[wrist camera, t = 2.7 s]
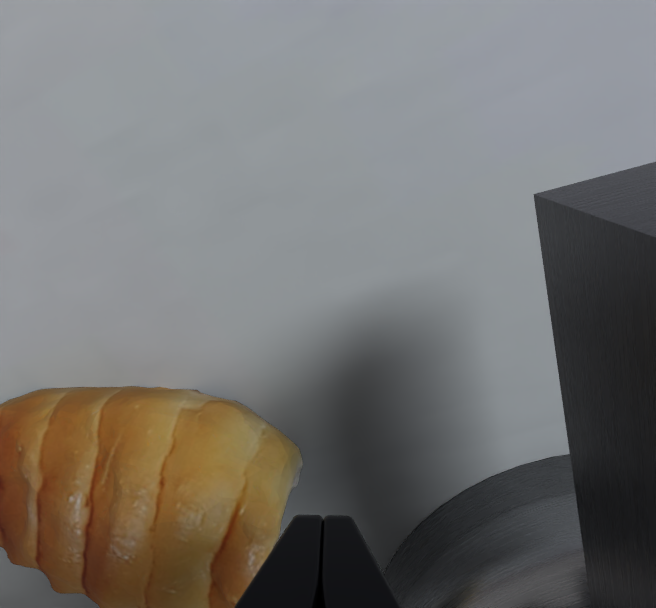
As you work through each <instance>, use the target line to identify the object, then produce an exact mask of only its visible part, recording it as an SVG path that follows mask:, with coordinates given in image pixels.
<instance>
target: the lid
mask: <svg viewBox="0 0 656 608" xmlns="http://www.w3.org/2000/svg"><path fill="white" fill-rule="evenodd" d="M534 201H535V208H536V215H537V222H538V229H539V236H540V243H541V251H542V258H543V265H544V272H545V279H546V286H547V294H548V301H549V308H550V315H551V322H552V329H553V336H554V344H555V351H556V358H557V365H558V372H559V379H560V387H561V394H562V401H563V408H564V415H565V422H566V430H567V437H568V444H569V451H570V458H571V465H572V472H573V480H574V487H575V494H576V501H577V508H578V515H579V523H580V530H581V537H582V544H583V551H584V558H585V565H586V573H587V580H588V587H589V594H590V601H591V608H656V162H653V163H650V164H646V165H642V166H638V167H635V168H631V169H627V170H623V171H620V172H616V173H612V174H608V175H605V176H601V177H597V178H593V179H589V180H586V181H582V182H578V183H574V184H571V185H567V186H563V187H559V188H556V189H552V190H548V191H544V192H541V193H537V194H534Z"/></svg>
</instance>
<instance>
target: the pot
mask: <svg viewBox="0 0 656 608" xmlns="http://www.w3.org/2000/svg"><path fill="white" fill-rule="evenodd" d="M384 576H385V578H386V580H387V582H388V584H389V585H390V587H391V589H392V591H393V593H394V594H395V596H396V598H397V600H398V602H399V603H400V605H401V607H402V608H591V601H590V594H589V587H588V580H587V573H586V565H585V558H584V551H583V544H582V537H581V530H580V523H579V515H578V508H577V501H576V494H575V487H574V480H573V472H572V465H571V458H570V454H569V455H563V456H556V457H551V458H547V459H544V460H540V461H536V462H532V463H529V464H525V465H521V466H519V467H516V468H513V469H511V470H508V471H506V472H503V473H500V474H498V475H495V476H493V477H491V478H489V479H487V480H485V481H483V482H481V483H479V484H477V485H475V486H473V487H471V488H469V489H467V490H465V491H464V492H462V493H461V494H459V495H458V496H456V497H455V498H453V499H452V500H450V501H449V502H447V503H446V504H444V505H443V506H441V507H440V508H439V509H438V510H437V511H435V512H434V513H433V514H432V515H431V516H429V517H428V518H427V519H426V520H425V521H424V522H422V523H421V524H420V525H419V526H418V528H417V529H416V530H415V531H414V532H413V533H412V534H411V535H410V536H409V537H408V538H407V540H406V541H405V542H404V543H403V544H402V546H401V547H400V549H399V550H398V552H397V553H396V555H395V556H394V557H393V559H392V560H391V562H390V564H389V566H388V568H387V570H386V572H385V574H384Z"/></svg>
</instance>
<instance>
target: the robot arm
mask: <svg viewBox="0 0 656 608" xmlns="http://www.w3.org/2000/svg"><path fill="white" fill-rule="evenodd" d="M234 608H402V607H401V605H400V603H399V602H398V600H397V598H396V596H395V594H394V593H393V591H392V589H391V587H390V585H389V584H388V582H387V580H386V578H385V576H384V574H383V573H382V571H381V569H380V567H379V565H378V564H377V562H376V560H375V558H374V556H373V555H372V553H371V551H370V549H369V547H368V546H367V544H366V542H365V540H364V538H363V537H362V535H361V533H360V531H359V529H358V528H357V526H356V524H355V522H354V520H353V519H352V518H351V517H350V516H333V515H328V516H326V517H325V518H324V520H323V519H322V517H321V516H319V515H297V516H295V517H294V518H293V519H292V521H291V522H290V524H289V525H288V527H287V528H286V530H285V531H284V533H283V534H282V536H281V537H280V539H279V540H278V542H277V543H276V545H275V546H274V548H273V549H272V551H271V552H270V554H269V555H268V557H267V558H266V560H265V561H264V563H263V564H262V566H261V567H260V569H259V570H258V572H257V573H256V575H255V576H254V578H253V579H252V581H251V582H250V584H249V585H248V587H247V588H246V590H245V591H244V593H243V594H242V596H241V597H240V599H239V600H238V602H237V603H236V605H235V606H234Z"/></svg>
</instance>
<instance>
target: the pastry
mask: <svg viewBox="0 0 656 608" xmlns="http://www.w3.org/2000/svg"><path fill="white" fill-rule="evenodd" d="M302 467H303V461H302V456H301V453H300V450H299V448H298V447H297V446H296V445H295V444H294V443H293V442H292V441H291V440H290V439H289V438H287V437H286V436H285V435H284V434H283V433H282V432H280V431H279V430H278V429H276V428H275V427H273V426H272V425H270V424H269V423H268V422H266V421H265V420H263V419H262V418H261V417H260V416H258V415H257V414H256V413H254V412H253V411H252V410H250V409H249V408H247V407H246V406H244V405H242V404H240V403H239V402H237V401H233V400H226V399H222V398H217V397H213V396H210V395H206V394H203V393H200V392H199V391H198V390H184V389H168V388H162V387H157V388H144V387H136V386H128V387H72V388H51V389H41V390H37V391H34V392H31V393H28V394H25V395H23V396H20V397H17V398H14V399H11V400H8V401H6V402H4V403H2V404H1V405H0V547H2V548H4V549H5V551H6V552H7V554H8V558H9V559H10V561H11V562H12V563H13V564H16V565H21V566H25V567H30V568H37V569H39V570H41V571H42V572H43V573H44V574H45V575H46V576H47V578H48V579H49V581H50V584H51V586H52V588H53V589H54V591H56V592H58V593H82V594H85V595H86V596H88V597H89V598H90V599H91V600H92V601H94V602H95V603H96V604H98V605H99V607H100V608H234V606H235V605H236V603H237V602H238V600H239V599H240V597H241V596H242V594H243V593H244V591H245V590H246V588H247V587H248V585H249V584H250V582H251V581H252V579H253V578H254V576H255V575H256V573H257V572H258V570H259V569H260V567H261V566H262V564H263V563H264V561H265V560H266V558H267V557H268V555H269V554H270V552H271V551H272V549H273V547H274V545H275V543H276V542H277V540H278V539H279V535H280V529H281V521H282V517H283V514H284V510H285V507H286V504H287V500H288V497H289V494H290V493H291V491H292V489H294V488H295V487H296V486H297V484H298V482H299V476H300V472H301V470H302Z"/></svg>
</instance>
